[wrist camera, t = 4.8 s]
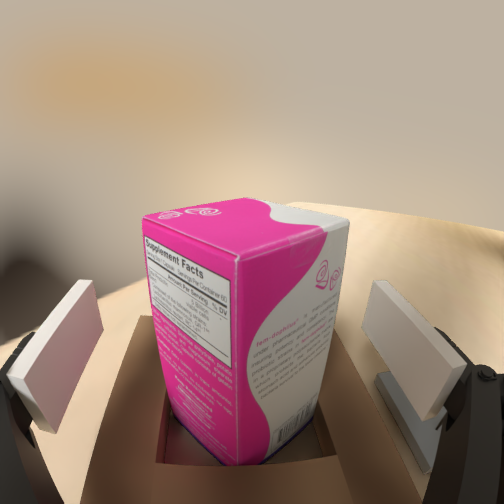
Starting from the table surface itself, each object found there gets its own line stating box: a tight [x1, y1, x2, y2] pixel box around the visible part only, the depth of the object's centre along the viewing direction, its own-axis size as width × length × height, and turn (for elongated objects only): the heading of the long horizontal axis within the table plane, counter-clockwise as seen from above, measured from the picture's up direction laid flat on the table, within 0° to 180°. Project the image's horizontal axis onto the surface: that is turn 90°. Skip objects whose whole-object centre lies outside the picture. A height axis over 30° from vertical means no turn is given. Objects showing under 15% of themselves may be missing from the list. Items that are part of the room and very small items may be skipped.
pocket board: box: [80, 316, 422, 504], centre depth 14 cm, size 14×16×2 cm
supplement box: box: [142, 198, 350, 466], centre depth 13 cm, size 6×6×12 cm
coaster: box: [374, 371, 447, 475], centre depth 14 cm, size 8×8×1 cm
